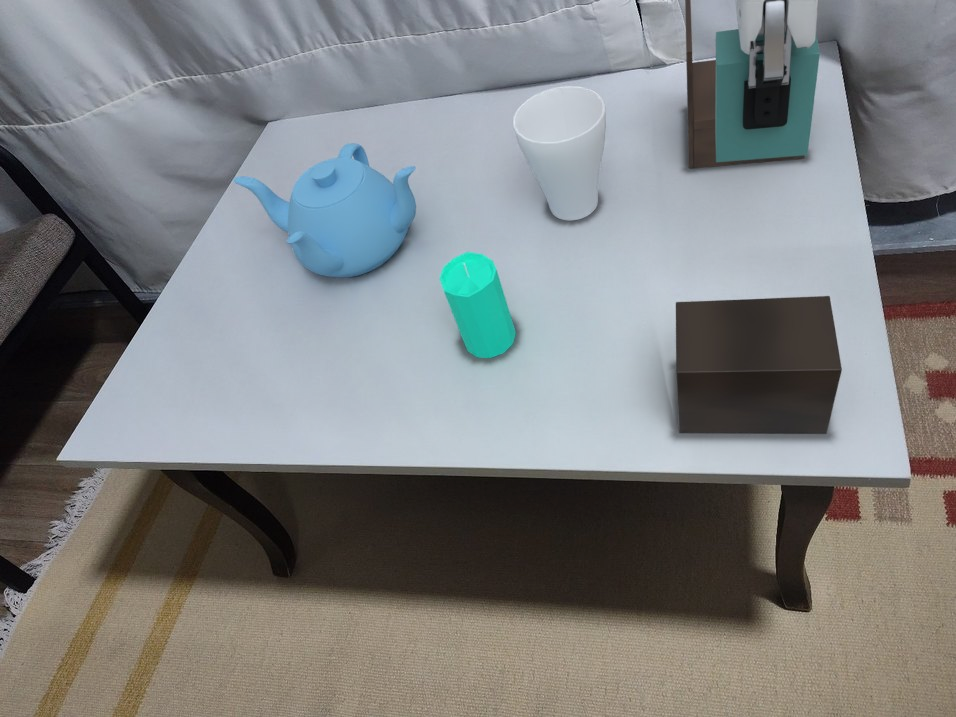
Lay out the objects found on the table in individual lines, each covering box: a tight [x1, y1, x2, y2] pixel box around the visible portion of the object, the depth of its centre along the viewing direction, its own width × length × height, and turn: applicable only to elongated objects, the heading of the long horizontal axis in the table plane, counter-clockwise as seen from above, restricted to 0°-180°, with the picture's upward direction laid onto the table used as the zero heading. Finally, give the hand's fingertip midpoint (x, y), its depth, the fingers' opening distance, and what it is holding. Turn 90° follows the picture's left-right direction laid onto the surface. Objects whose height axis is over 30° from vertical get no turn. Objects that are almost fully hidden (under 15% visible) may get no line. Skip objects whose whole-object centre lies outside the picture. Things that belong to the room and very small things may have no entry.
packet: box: [715, 28, 821, 162], centre depth 59 cm, size 7×4×9 cm, turn 80°
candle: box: [439, 251, 517, 359], centre depth 80 cm, size 6×6×12 cm
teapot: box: [233, 142, 417, 278], centre depth 96 cm, size 17×19×12 cm
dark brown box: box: [675, 295, 843, 435], centre depth 69 cm, size 13×8×10 cm, turn 81°
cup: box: [512, 85, 607, 221], centre depth 90 cm, size 10×10×14 cm
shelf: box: [684, 0, 806, 169], centre depth 90 cm, size 13×12×16 cm
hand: (762, 103), depth 60 cm, fingers closed on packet, 4 cm apart
